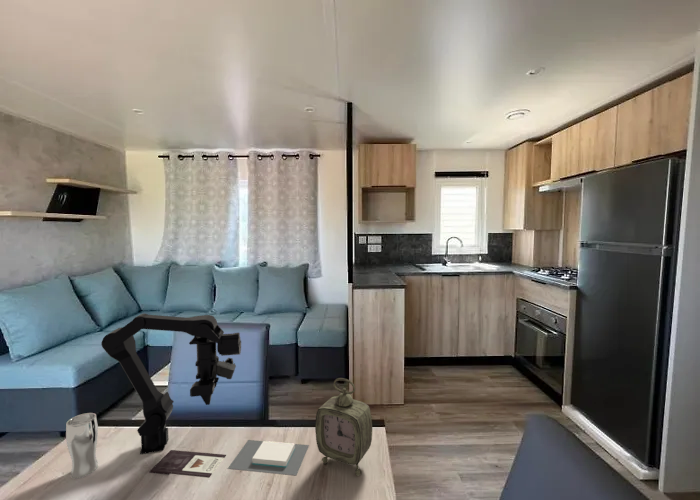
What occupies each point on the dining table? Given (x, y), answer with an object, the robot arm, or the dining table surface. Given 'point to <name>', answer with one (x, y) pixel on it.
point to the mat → (245, 463)
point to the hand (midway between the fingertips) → (208, 404)
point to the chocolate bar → (188, 463)
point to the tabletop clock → (344, 428)
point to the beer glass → (82, 444)
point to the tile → (273, 454)
